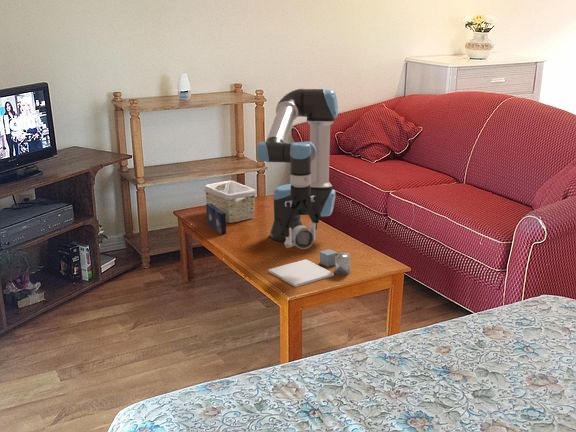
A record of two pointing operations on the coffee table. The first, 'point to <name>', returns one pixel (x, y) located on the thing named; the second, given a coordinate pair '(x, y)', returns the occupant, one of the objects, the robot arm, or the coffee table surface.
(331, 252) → the slate block
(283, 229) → the robot arm
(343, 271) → the metal tin
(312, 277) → the white thin square slab
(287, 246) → the ceramic mug
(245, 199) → the storage basket
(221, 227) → the vhs cassette tape
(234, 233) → the coffee table surface
